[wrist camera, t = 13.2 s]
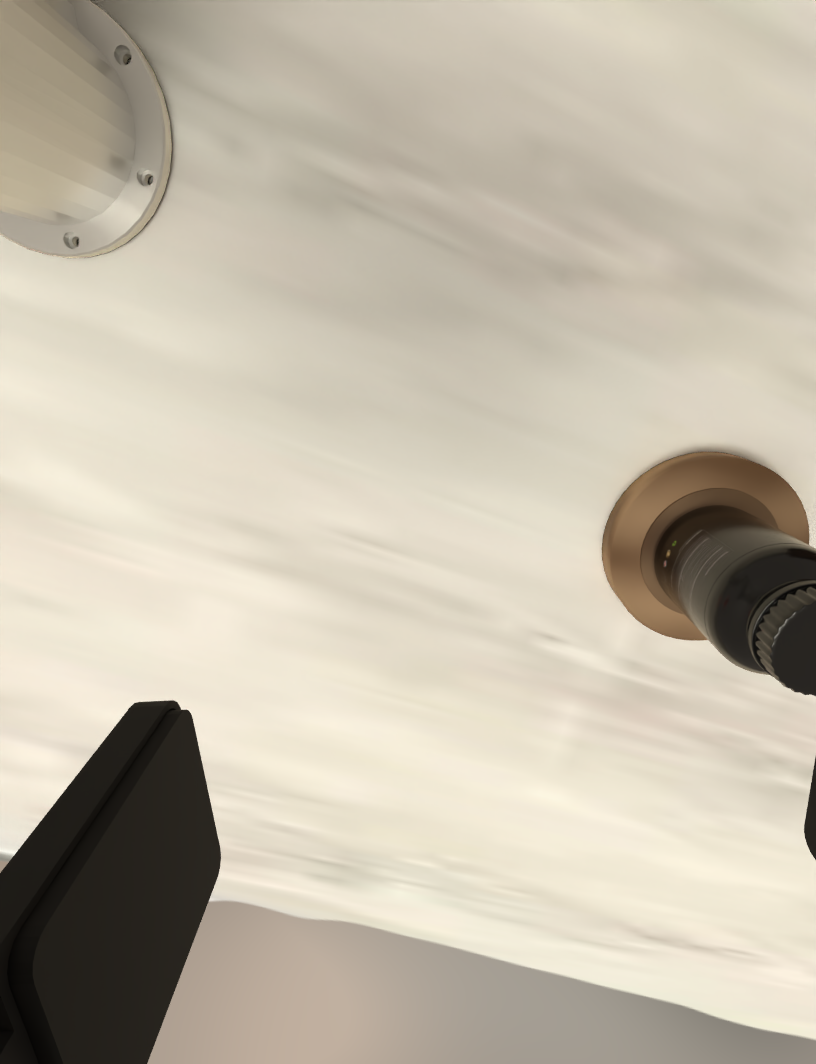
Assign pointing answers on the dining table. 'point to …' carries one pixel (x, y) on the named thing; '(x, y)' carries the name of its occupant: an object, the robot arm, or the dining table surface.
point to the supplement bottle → (744, 590)
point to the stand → (669, 498)
